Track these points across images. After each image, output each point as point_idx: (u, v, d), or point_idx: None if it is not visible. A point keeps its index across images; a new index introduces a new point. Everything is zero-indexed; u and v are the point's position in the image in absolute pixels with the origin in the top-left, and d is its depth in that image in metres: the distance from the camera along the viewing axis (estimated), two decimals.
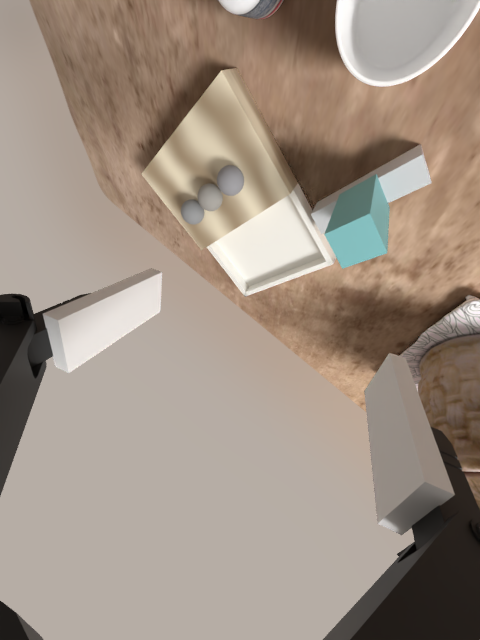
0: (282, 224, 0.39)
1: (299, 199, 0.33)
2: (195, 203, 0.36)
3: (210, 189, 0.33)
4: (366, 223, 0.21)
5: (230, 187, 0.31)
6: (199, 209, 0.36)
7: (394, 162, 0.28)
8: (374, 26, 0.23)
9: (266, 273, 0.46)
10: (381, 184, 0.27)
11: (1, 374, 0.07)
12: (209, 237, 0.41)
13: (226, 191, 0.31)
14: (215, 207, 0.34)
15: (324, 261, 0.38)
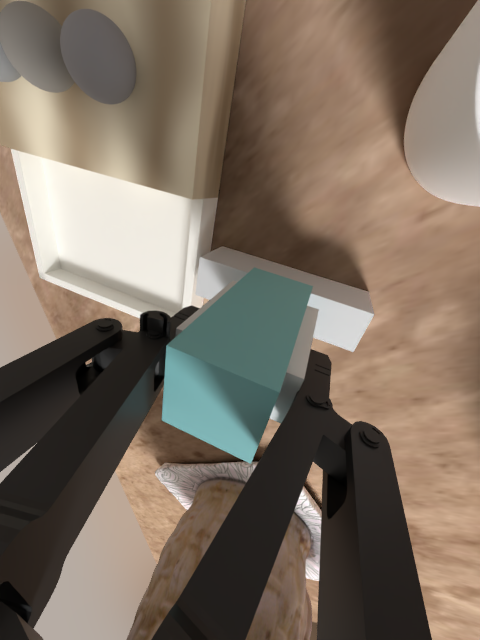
0: (159, 231, 0.22)
1: (202, 221, 0.19)
2: None
3: (45, 27, 0.13)
4: (258, 400, 0.08)
5: (82, 65, 0.12)
6: None
7: (335, 288, 0.18)
8: None
9: (97, 273, 0.27)
10: (307, 304, 0.17)
11: (129, 389, 0.08)
12: (14, 133, 0.19)
13: (69, 62, 0.12)
14: (34, 78, 0.14)
15: None
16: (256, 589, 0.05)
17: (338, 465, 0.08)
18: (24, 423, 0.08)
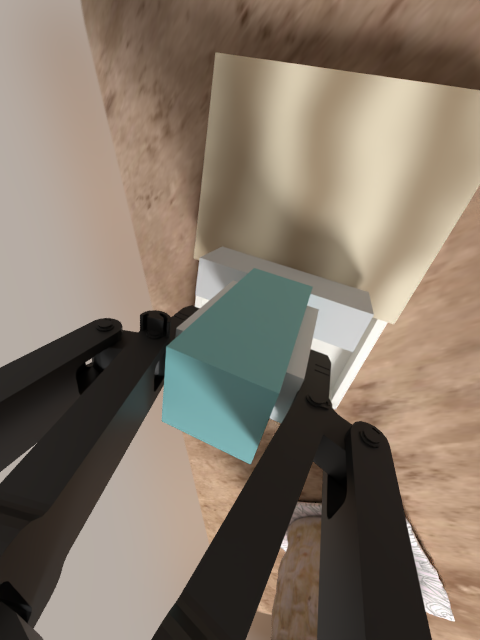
0: None
1: (381, 330, 0.22)
2: None
3: None
4: (257, 401, 0.08)
5: None
6: None
7: (335, 288, 0.18)
8: None
9: None
10: (307, 304, 0.17)
11: (129, 389, 0.08)
12: None
13: None
14: None
15: None
16: (256, 589, 0.05)
17: (338, 465, 0.08)
18: (24, 423, 0.07)
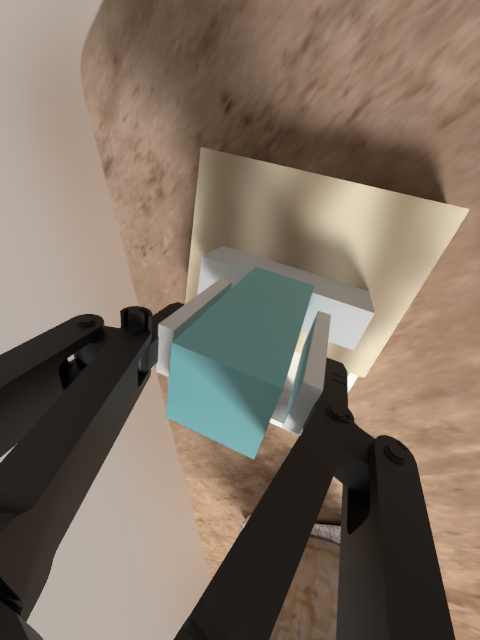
0: None
1: (355, 378, 0.25)
2: None
3: None
4: (261, 397, 0.08)
5: None
6: None
7: (336, 287, 0.18)
8: None
9: None
10: (308, 303, 0.17)
11: (113, 384, 0.08)
12: None
13: None
14: None
15: None
16: (272, 609, 0.04)
17: (361, 481, 0.08)
18: (8, 420, 0.07)
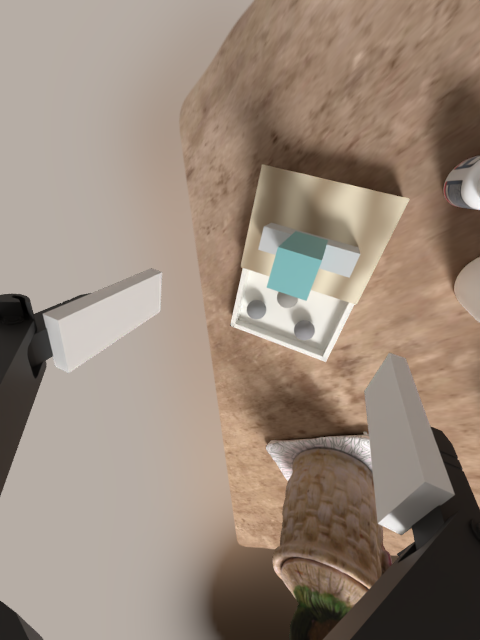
0: (317, 307, 0.42)
1: (351, 309, 0.39)
2: (261, 313, 0.43)
3: None
4: (313, 266, 0.22)
5: None
6: (265, 312, 0.43)
7: (339, 244, 0.32)
8: None
9: (265, 323, 0.47)
10: (324, 250, 0.31)
11: (1, 374, 0.07)
12: (260, 266, 0.39)
13: None
14: (288, 303, 0.40)
15: (321, 355, 0.44)
16: None
17: None
18: None
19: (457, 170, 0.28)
